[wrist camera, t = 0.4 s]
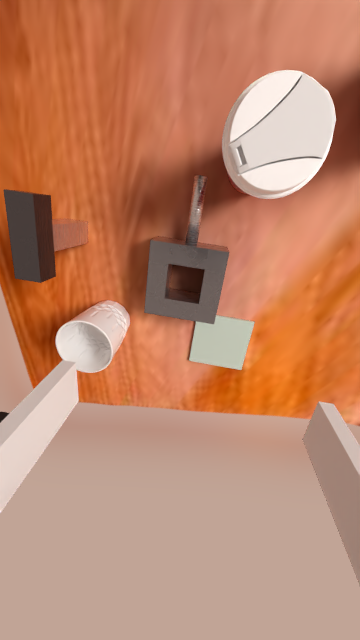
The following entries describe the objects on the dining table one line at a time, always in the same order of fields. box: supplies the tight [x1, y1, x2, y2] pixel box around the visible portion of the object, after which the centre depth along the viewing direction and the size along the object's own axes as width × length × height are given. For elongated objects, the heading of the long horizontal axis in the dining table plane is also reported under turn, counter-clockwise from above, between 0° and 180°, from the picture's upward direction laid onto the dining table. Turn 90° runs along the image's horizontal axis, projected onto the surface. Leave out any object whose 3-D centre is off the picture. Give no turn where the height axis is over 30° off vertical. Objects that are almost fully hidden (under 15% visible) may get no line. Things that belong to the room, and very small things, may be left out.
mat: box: [189, 315, 255, 370], centre depth 42 cm, size 9×9×1 cm
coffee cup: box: [222, 70, 336, 199], centre depth 25 cm, size 8×8×15 cm
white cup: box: [56, 300, 130, 373], centre depth 38 cm, size 8×8×10 cm
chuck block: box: [144, 175, 229, 324], centre depth 34 cm, size 18×10×5 cm, turn 172°
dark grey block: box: [4, 189, 88, 283], centre depth 32 cm, size 9×3×12 cm, turn 172°
